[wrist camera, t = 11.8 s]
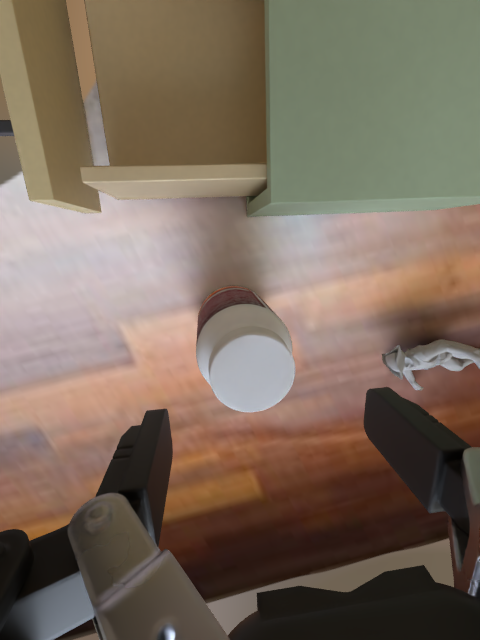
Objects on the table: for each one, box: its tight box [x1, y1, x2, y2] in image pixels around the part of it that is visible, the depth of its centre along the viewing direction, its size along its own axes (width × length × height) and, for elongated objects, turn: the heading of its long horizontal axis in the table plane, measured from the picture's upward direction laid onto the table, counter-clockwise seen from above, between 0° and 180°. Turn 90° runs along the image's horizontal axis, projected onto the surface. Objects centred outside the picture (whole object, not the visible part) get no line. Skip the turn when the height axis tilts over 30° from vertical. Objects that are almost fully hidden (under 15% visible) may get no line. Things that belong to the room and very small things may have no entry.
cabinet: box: [246, 0, 480, 217], centre depth 18 cm, size 17×15×9 cm
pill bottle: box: [196, 286, 295, 412], centre depth 20 cm, size 6×6×11 cm
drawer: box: [0, 0, 267, 213], centre depth 16 cm, size 21×14×7 cm, turn 92°
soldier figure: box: [382, 339, 480, 390], centre depth 27 cm, size 8×5×12 cm
